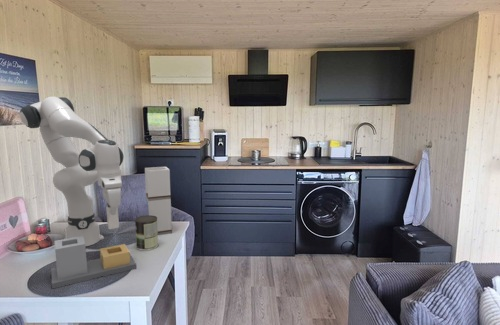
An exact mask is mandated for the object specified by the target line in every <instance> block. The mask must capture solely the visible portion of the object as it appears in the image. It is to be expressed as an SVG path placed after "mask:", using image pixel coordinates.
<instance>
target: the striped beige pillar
mask: <svg viewBox="0 0 500 325" xmlns="http://www.w3.org/2000/svg"><path fill="white" fill-rule="evenodd" d="M170 172H171V170H170V168H168V167H167V166H156V167H155V166H153V167H144V178H145V183H144V184H145V199H146V201H147V203H148V204H147V205H148V206H147V207H148V215H152V216H156V217H157V231H158V236H162V235H168V234H173V227H172V226H173V224H172V203H171V202H172V200H171V197H172V196H171V195H172V194H171V173H170Z"/></svg>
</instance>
